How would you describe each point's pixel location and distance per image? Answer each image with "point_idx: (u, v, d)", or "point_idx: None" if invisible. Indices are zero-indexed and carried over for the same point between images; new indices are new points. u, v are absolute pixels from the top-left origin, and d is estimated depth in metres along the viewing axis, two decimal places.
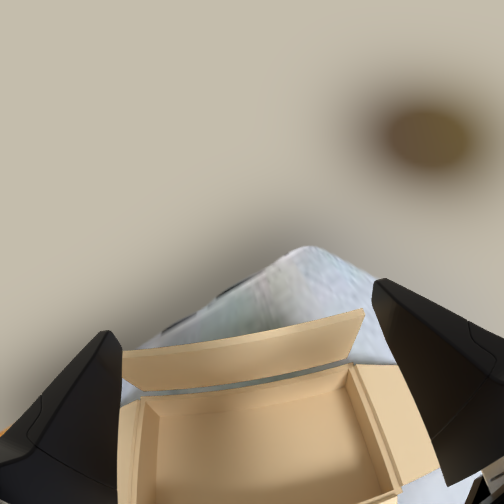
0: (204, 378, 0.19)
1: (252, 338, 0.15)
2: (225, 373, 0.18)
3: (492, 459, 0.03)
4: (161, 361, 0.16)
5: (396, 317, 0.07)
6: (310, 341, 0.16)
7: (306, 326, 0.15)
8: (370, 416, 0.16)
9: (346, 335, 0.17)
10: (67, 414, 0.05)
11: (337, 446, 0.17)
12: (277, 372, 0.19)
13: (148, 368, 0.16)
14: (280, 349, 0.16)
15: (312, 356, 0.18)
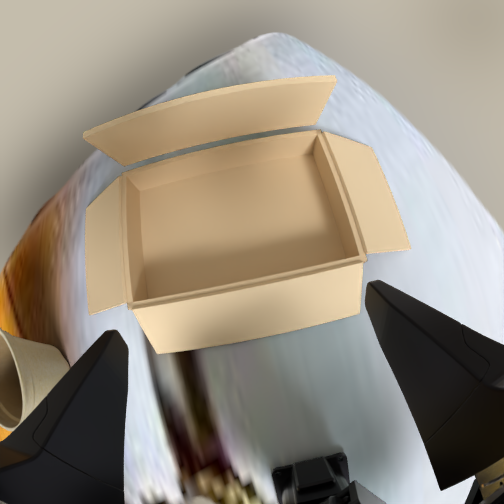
0: (183, 138, 0.20)
1: (234, 89, 0.15)
2: (204, 130, 0.19)
3: (485, 465, 0.03)
4: (146, 121, 0.16)
5: (389, 319, 0.07)
6: (285, 97, 0.16)
7: (283, 81, 0.15)
8: (337, 179, 0.21)
9: (317, 97, 0.17)
10: (74, 415, 0.05)
11: (306, 208, 0.24)
12: (251, 130, 0.21)
13: (133, 133, 0.17)
14: (257, 103, 0.17)
15: (285, 115, 0.19)
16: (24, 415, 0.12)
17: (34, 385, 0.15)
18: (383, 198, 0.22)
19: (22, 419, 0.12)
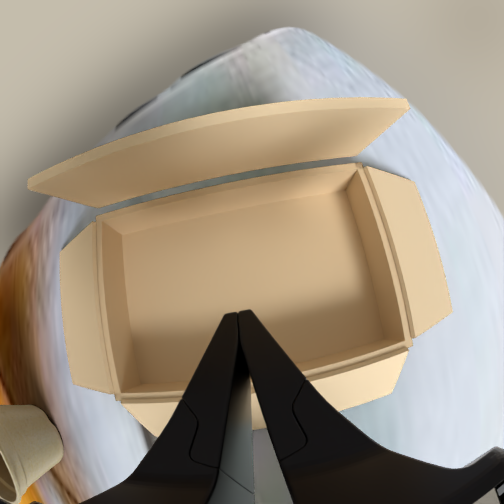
0: (175, 176, 0.14)
1: (256, 113, 0.09)
2: (204, 166, 0.14)
3: None
4: (114, 162, 0.10)
5: (244, 355, 0.07)
6: (331, 125, 0.11)
7: (335, 103, 0.09)
8: (383, 237, 0.15)
9: (374, 127, 0.11)
10: None
11: (338, 267, 0.18)
12: (271, 163, 0.15)
13: (98, 177, 0.11)
14: (289, 132, 0.11)
15: (322, 146, 0.14)
16: (19, 497, 0.07)
17: (24, 465, 0.09)
18: (429, 253, 0.17)
19: (18, 499, 0.06)
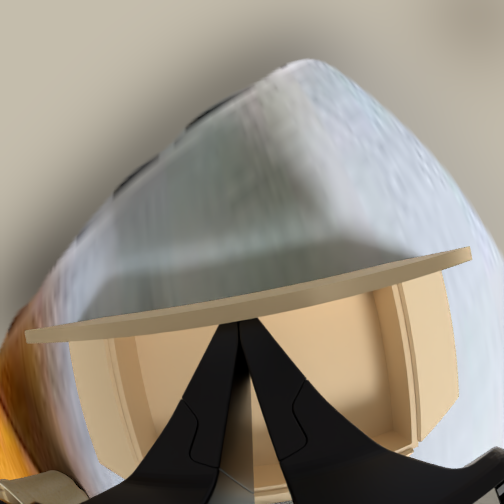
0: None
1: (303, 302, 0.08)
2: None
3: None
4: None
5: (244, 355, 0.07)
6: None
7: (397, 275, 0.08)
8: (407, 358, 0.14)
9: None
10: None
11: (358, 373, 0.17)
12: None
13: None
14: None
15: None
16: None
17: None
18: (446, 352, 0.15)
19: None
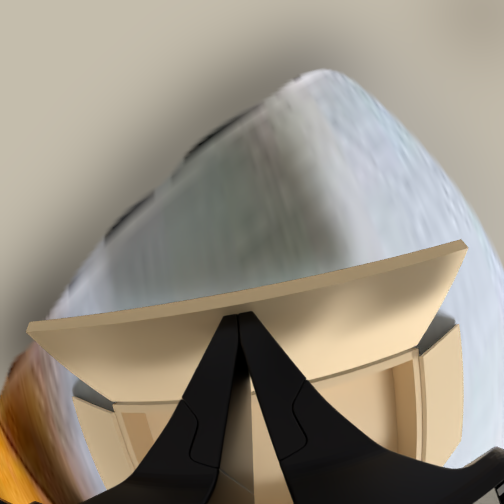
0: None
1: (299, 287, 0.08)
2: None
3: None
4: (124, 339, 0.08)
5: (244, 355, 0.07)
6: (389, 301, 0.09)
7: (391, 263, 0.08)
8: (418, 426, 0.12)
9: (435, 292, 0.09)
10: None
11: (369, 431, 0.15)
12: (321, 371, 0.12)
13: (107, 356, 0.09)
14: (341, 318, 0.09)
15: (380, 338, 0.11)
16: None
17: None
18: (455, 406, 0.14)
19: None
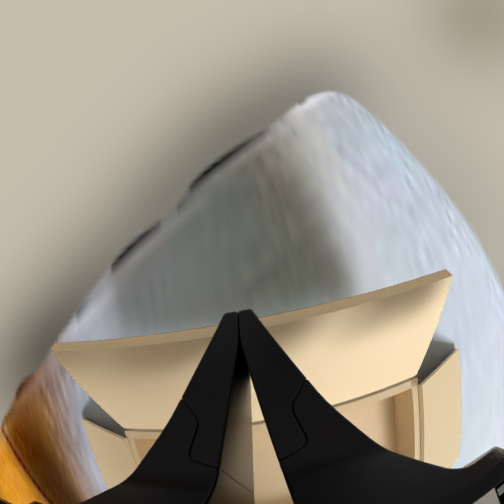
0: None
1: (298, 316, 0.09)
2: None
3: None
4: (144, 361, 0.09)
5: (244, 355, 0.07)
6: (381, 329, 0.10)
7: (379, 294, 0.09)
8: (416, 448, 0.12)
9: (426, 320, 0.10)
10: None
11: None
12: None
13: (126, 378, 0.10)
14: (338, 345, 0.10)
15: (378, 367, 0.11)
16: None
17: None
18: (452, 426, 0.13)
19: None
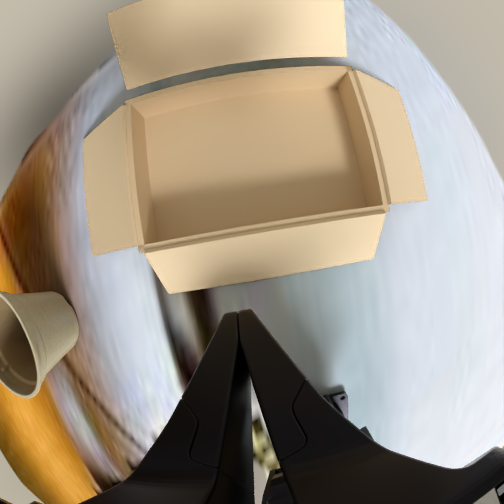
0: (199, 46, 0.15)
1: None
2: (222, 34, 0.15)
3: None
4: (167, 3, 0.12)
5: (244, 355, 0.07)
6: None
7: None
8: (366, 122, 0.18)
9: (332, 2, 0.13)
10: None
11: (328, 144, 0.21)
12: (275, 49, 0.16)
13: (150, 20, 0.13)
14: None
15: (307, 27, 0.15)
16: (39, 381, 0.14)
17: (45, 345, 0.16)
18: (407, 146, 0.20)
19: (38, 386, 0.14)
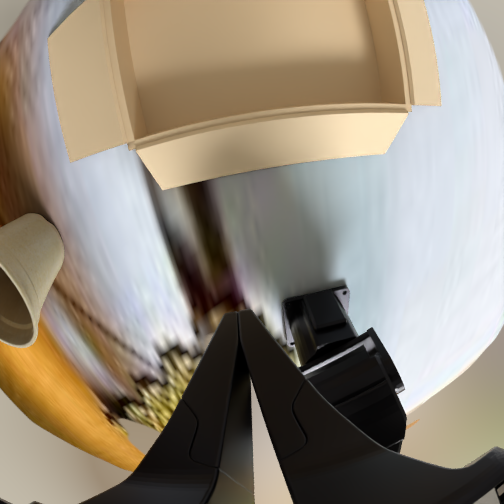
0: None
1: None
2: None
3: None
4: None
5: (244, 355, 0.07)
6: None
7: None
8: (394, 19, 0.11)
9: None
10: None
11: (346, 32, 0.14)
12: None
13: None
14: None
15: None
16: (36, 327, 0.14)
17: (33, 282, 0.14)
18: (428, 50, 0.13)
19: (35, 332, 0.14)
